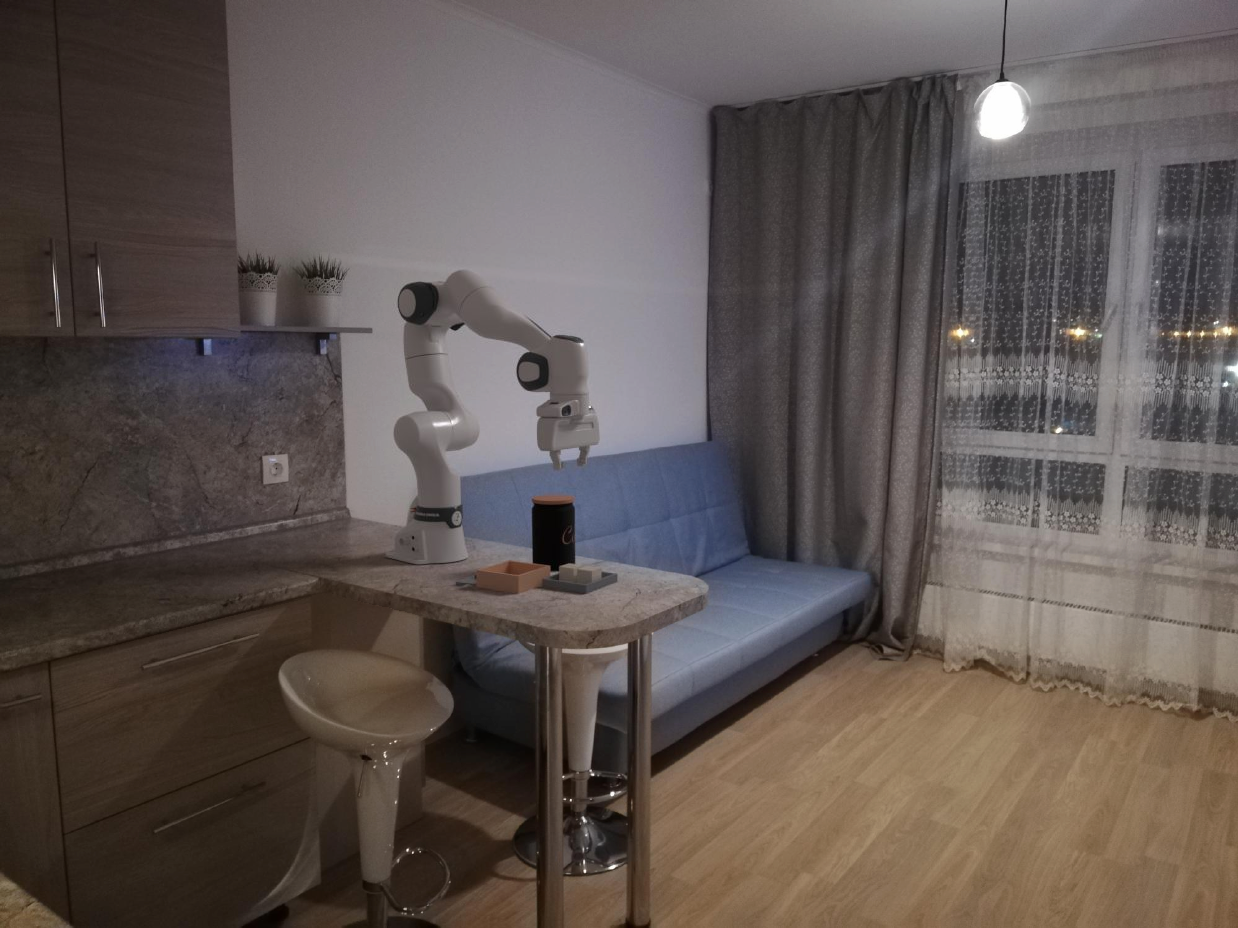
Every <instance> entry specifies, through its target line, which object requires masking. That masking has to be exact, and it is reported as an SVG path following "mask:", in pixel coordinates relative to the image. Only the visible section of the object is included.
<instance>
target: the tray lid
mask: <svg viewBox="0 0 1238 928" xmlns="http://www.w3.org/2000/svg"><path fill="white" fill-rule="evenodd" d="M467 585H472V586H477V578H476V573H475V574H472V575H469V576H467V577H464V578H462V579H460V580H457V581H455V586H462V587H464V586H467Z"/></svg>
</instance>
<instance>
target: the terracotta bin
mask: <svg viewBox="0 0 1238 928" xmlns="http://www.w3.org/2000/svg"><path fill="white" fill-rule="evenodd" d="M475 574H476V578H477V585H476V588H481V589H488V590H492V591H493V590H495V591H500V592H507V593H513V594H516V595H517V594H518V595H519V594H523V593H525V592H528V591H531V590H533V589H536V588H539V587H542V579H543V578H546V577H549V576H551V571H550V566H548V565H541V564H533V562H525V561H518V560H510V559H509V560H505V561H502V562H498V563H495V564H492V565H488V566H485V567H482V568H478V569H476V571H475Z"/></svg>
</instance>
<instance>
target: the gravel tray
mask: <svg viewBox="0 0 1238 928" xmlns="http://www.w3.org/2000/svg"><path fill="white" fill-rule="evenodd" d="M616 583H618V573H616V572H608V571H602V578H601V579H599V580H596V581H593V582H591V583H588V584H580V583H573V582H566V581H559V572H558V573H556V574H551V575H550V576H549V577H546V578H543V579H542V586H541V587H542V588H546V589H553V590H558V591H559V590H560V591H565V592H571V593H577V594H584V595H585V594H586V595H587V594H591V593H593V592H595V591H597V590H601V589H603V588H606V587H608V586H610V585H612V584H616Z"/></svg>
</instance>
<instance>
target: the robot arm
mask: <svg viewBox="0 0 1238 928" xmlns="http://www.w3.org/2000/svg"><path fill="white" fill-rule="evenodd" d="M397 309H398V313H399V315H400V317H401V319H403V321H405V323H404V327H403V335H402V336H403V339H402V340H403V353H404V354H403V355H404V362H405V363H404V364H405V368H406V376H407V382H408V387H409V390H410V392H411V393H412V394H414V395H415V396H416V397H418V398H419V399H420V400H421V401H422V403H423V404H424V406H425V409H426V410H423V411H414V412H411V413H408V414H405V415H403V416H401V417H399V418H398V419H397V420H396V422H395V424H394V428H393V438H394V439H393V440H394V442H395V445H396V446H397V448H398V449H399V450H400V451H401V452H403V453H404V455H406V456H407V458H408V459H409V460H410V462H411V464H412V467H413V470H414V473H415V477H416V486H417V506H416V507H410V510H411V511H410V513H414V514H413V519H412V520H411V521H410V522H408V523H407V524H406V525H405V526H404V527H403V528H401V529H400V530H399V531H398V532H397V533H396V535H395V538H394V548H393V549H391V550H388V551H387V552H385V558H389V559H393V560H398V561H400V562H405V563H408V564H413V565H426V564H428V565H429V564H445V563H453V562H458V561H462V560H466V559H467V558H469V553H468V550H467V546H466V541H465V535H464V527H463V518H464V508H463V503H462V499H461V498H462V494H461V491H462V489H461V486H462V485H461V476H460V474H459V472H458V471H457V470H455V469H454V468H453V467H451V466H450V464H449V462H448V460H447V456H446V454H447V453H446V452H454V451H460V450H463V449H465V448H469V447H470V446H473V445H474V444H475V443H476V442H477V441H478V439H479V436H480V424H479V420H478V418H477V417H476V415H474V414H473V413H472V412H471V411H469V410H468V409H467V407H465V405H464V403H463V402H462V400H461V399H460V397H459V395H458V392H457V390H456V389H455V385H454V382H453V377H452V371H451V366H450V362H449V361H450V360H449V354H448V348H447V343H446V336H447V332H449V329H450V330H451V331H454V332H455V331H456V332H457V331H458V330H459V329H461V327H464V326H466V327H467V328H468V329H469V330H470V331H471V332H474V333H475V334H476V335H478V336H480V337H482V338H484V339H488V340H494V341H495V340H496V341H503V342H507V343H512V344H515V345H518V346H520V347H523V348H525V349H526V350H527V352H525V353H523V354H522V355H521V356H520V358H519V359H518V360H517V364H516V368H515V369H516V370H515V372H516V373H515V374H516V378H517V382H518V383H519V385H520V386H521V388H522V389H523V390H524V391H528V392H532V393H549V399H547V400H546V401H544V402H543V403H542V404H540V405H538V407H536V410H535V413H536V416H537V417H538V420H537V423H536V443H537V447H538V449H539V450H540V452H549V457H550V460H551V461H552V468H553V471H557V472H558V471H562V470H564V461H562V460H561V452H562V451H563V450H570V449H577V448H578V451H580V452H579V455H578V456H579V457H578V458H577V457H576V466H577V467H586V466H587V465H588V464H587V463H588V459H587V458H588V456H589V453H590V451H591V446H596V445H599V443H600V439H601V437H600V436H601V434H600V426H599V425H600V424H599V420H598V419H599V418H598V416H597V412H596V410H595V408H593V406H592V405H590V404H589V403H590V402H589V401H590V400H589V399H590V398H589V397H590V396H589V395H590V394H589V388H588V383H587V382H588V378H589V356H588V349H587V346H586V343H585V341H584V340H583V339H582V338H581V337H579V336H575V335H567V334H556V335H553V336H552V335H550V334H549V333H548V332H547V330H544V328H542V327H541V326H539V324H537V323H536V322H534V321H533V320H532V318H529V317H528V316H527V315H526V314H524V313H522V312H521V311H520V310H518V309H517V308H516V307H515V306H513V305H512V304H510V303H509V301H507V300H506V299H505V298H504V297H503V296H502V295H501V294H500V293H499V292H498V291H497V290H496V289H495V288H494V287H492V285H491V284H489V283H488V282H487V281H485V280H484V279H483V278H482V277H480V276H479V275H478V274H476V273H475V272H473V271H471V270H469V269H458V270H456V271H454V272H452V273H451V274H450V275H448V277H447V279H445V281H426V282H425V281H414V282H410V283H407V284H405V285H404V286H403V287H401V289H400V291H399V294H398V296H397Z"/></svg>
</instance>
